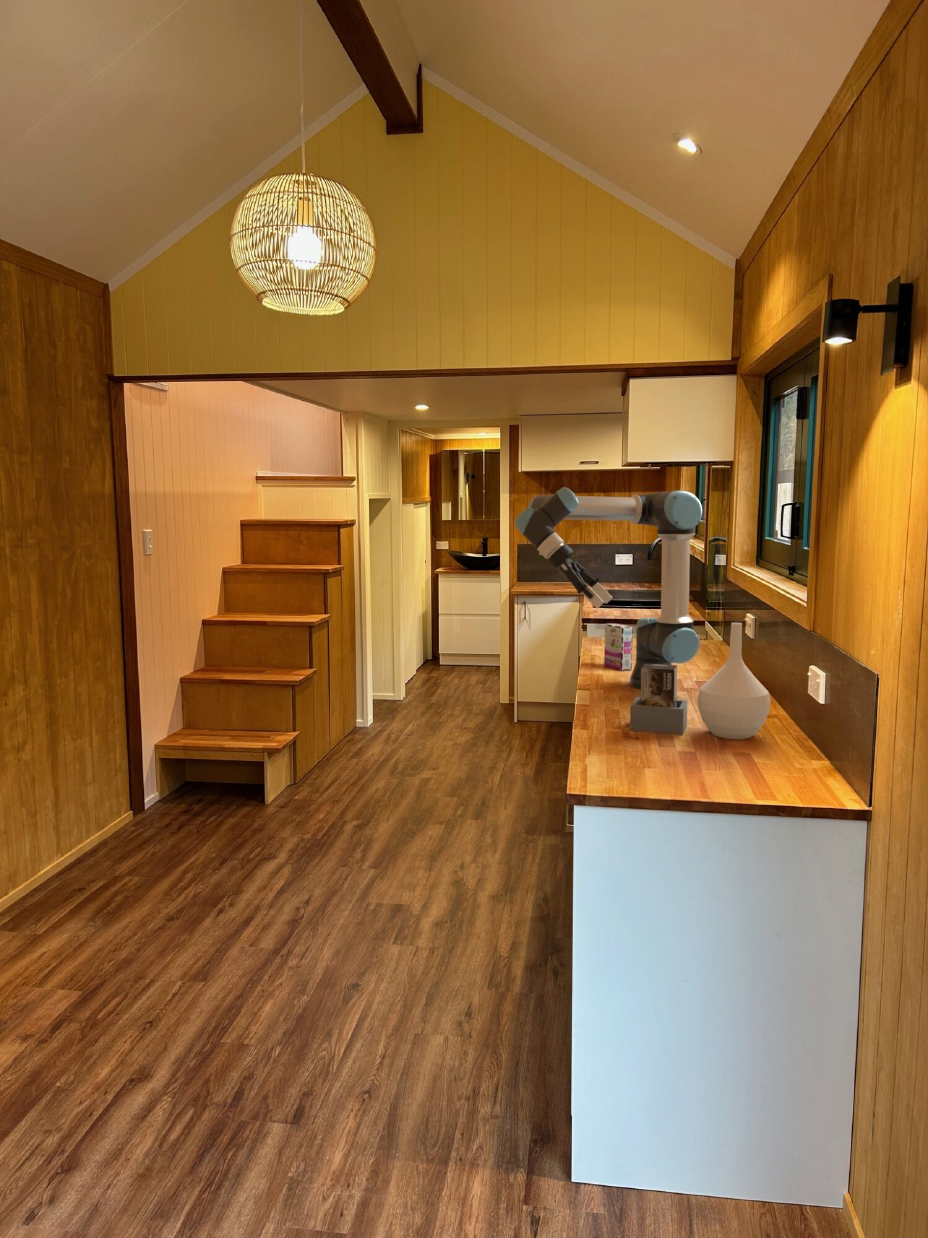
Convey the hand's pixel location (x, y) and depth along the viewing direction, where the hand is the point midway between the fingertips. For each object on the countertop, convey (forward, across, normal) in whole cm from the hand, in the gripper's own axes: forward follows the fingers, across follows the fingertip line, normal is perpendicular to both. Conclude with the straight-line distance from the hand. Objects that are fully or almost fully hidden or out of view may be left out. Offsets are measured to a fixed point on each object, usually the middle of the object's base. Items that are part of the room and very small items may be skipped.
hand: (605, 603), depth 253 cm
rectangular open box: (+36, +18, -9) cm, 41 cm away
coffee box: (+35, +18, -9) cm, 40 cm away
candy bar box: (+18, -65, -27) cm, 73 cm away
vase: (+49, +19, +4) cm, 53 cm away
